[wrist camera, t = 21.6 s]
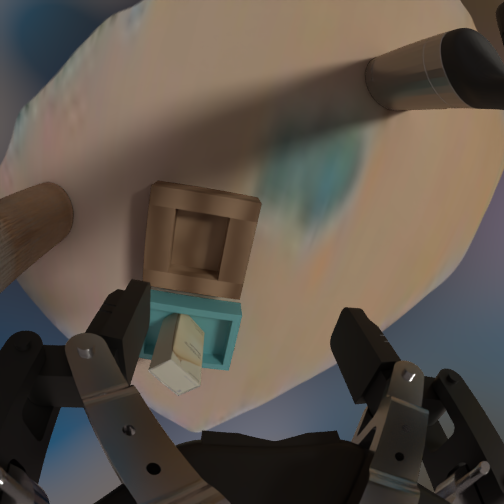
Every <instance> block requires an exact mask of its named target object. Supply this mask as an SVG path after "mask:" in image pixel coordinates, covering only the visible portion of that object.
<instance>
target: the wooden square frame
mask: <svg viewBox="0 0 504 504" xmlns="http://www.w3.org/2000/svg"><path fill="white" fill-rule="evenodd" d="M261 205H262V204H261V202H260V200H259V199H258V198H257V197H252V196H247V195H242V194H236V193H231V192H225V191H220V190H214V189H208V188H202V187H196V186H190V185H184V184H177V183H171V182H164V181H157V182H155V183H154V184H152V185H151V192H150V200H149V208H148V217H147V227H146V238H145V251H144V265H143V281H146V282H150V284H151V286H154V287H160V288H166V289H172V290H178V291H184V292H191V293H197V294H204V295H210V296H217V297H224V298H231V299H239V300H240V296H241V291H242V287H243V283H244V278H245V274H246V270H247V265H248V261H249V257H250V252H251V248H252V244H253V239H254V235H255V231H256V226H257V222H258V218H259V213H260V209H261Z"/></svg>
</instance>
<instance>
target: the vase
mask: <svg viewBox="0 0 504 504" xmlns="http://www.w3.org/2000/svg"><path fill="white" fill-rule="evenodd" d="M72 223H73V208H72V204H71V201H70V199H69V197H68V195H67V194H66V192H65V191H64V190H63V189H62V188H61V187H60V186H58V185H56V184H54V183H50V182H46V183H41V184H38V185H35V186H32V187H29V188H27V189H24V190H21V191H19V192H16V193H14V194H11V195H9V196H6V197H4V198H1V199H0V293H1V292H2V291H3V290H4V289H5V288H6V287H7V286H8V285H10V284H11V283H12V282H13V281H14V280H15V279H16V278H17V277H18V276H20V275H21V274H22V273H23V272H24V271H25V270H26V269H28V268H29V267H30V266H31V265H32V264H33V263H35V262H36V261H37V260H38V259H39V258H41V257H42V256H43V255H44V254H45V253H47V252H48V251H49V250H50V249H52V248H53V247H54V246H55V245H57V244H58V243H59V242H61V241H62V240H63V239H64V238H65V237H66V236H67V235H68V233H69V232H70V230H71V227H72Z"/></svg>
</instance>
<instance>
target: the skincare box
mask: <svg viewBox="0 0 504 504" xmlns="http://www.w3.org/2000/svg"><path fill="white" fill-rule="evenodd" d="M204 334H205V333H204V332H203V330H202V329H201V328H200V327H199V326H198V325H197V324H196V323H195V321H194V320H193V319H192V318H191V317H190V316H189V315H187V314H180V313H172V314H171V315H169V316H167V317H166V318H164V319H163V322H162V325H161V329H160V332H159V335H158V339H157V342H156V345H155V349H154V352H153V356H152V360H151V363H150V367H149V372H150V373H151V374H152V375H153V376H155V377H156V378H157V379H158V380H159V381H160V382H161V383H163V384H164V385H165V386H166V387H168V388H169V389H170V390H171V391H173V392H174V393H175V394H177V395H178V396H179V395H181V394H184V393H186V392H188V391H191V390H193V389H195V388H197V387H200V384H201V369H202V357H203V345H204Z"/></svg>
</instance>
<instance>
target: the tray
mask: <svg viewBox="0 0 504 504" xmlns="http://www.w3.org/2000/svg"><path fill="white" fill-rule="evenodd" d="M172 313H180V314H187V315H189V316H190V317H191V318H192V319H193V320H194V321H195V323H196V324H197V325H198V326H199V327H200V328H201V329H202V330H203V332H204V333H205V334H204V345H203V357H202V368H210V369H219V370H229V367H230V363H231V359H232V355H233V351H234V347H235V343H236V338H237V334H238V330H239V326H240V322H241V318H242V311H241V304H240V303H236V302H228V301H221V300H214V299H207V298H201V297H194V296H188V295H181V294H175V293H169V292H163V291H157V290H152V289H151V298H150V323H149V328H148V331H147V334H146V337H145V340H144V343H143V346H142V349H141V352H140V355H139V358H144V359H150V360H152V356H153V352H154V349H155V345H156V342H157V339H158V335H159V332H160V329H161V325H162V322H163V319H164V318H166V317H167V316H169V315H171V314H172Z"/></svg>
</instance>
